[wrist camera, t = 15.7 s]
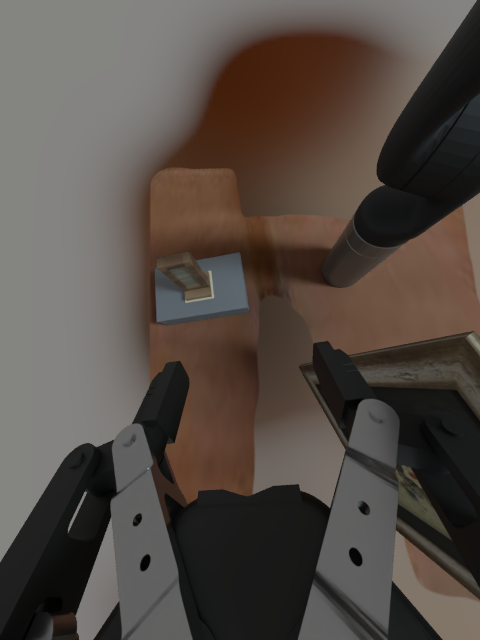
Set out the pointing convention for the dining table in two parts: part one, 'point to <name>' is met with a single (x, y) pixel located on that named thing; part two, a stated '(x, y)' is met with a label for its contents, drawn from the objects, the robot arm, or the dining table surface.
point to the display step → (224, 300)
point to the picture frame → (420, 398)
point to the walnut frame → (186, 274)
